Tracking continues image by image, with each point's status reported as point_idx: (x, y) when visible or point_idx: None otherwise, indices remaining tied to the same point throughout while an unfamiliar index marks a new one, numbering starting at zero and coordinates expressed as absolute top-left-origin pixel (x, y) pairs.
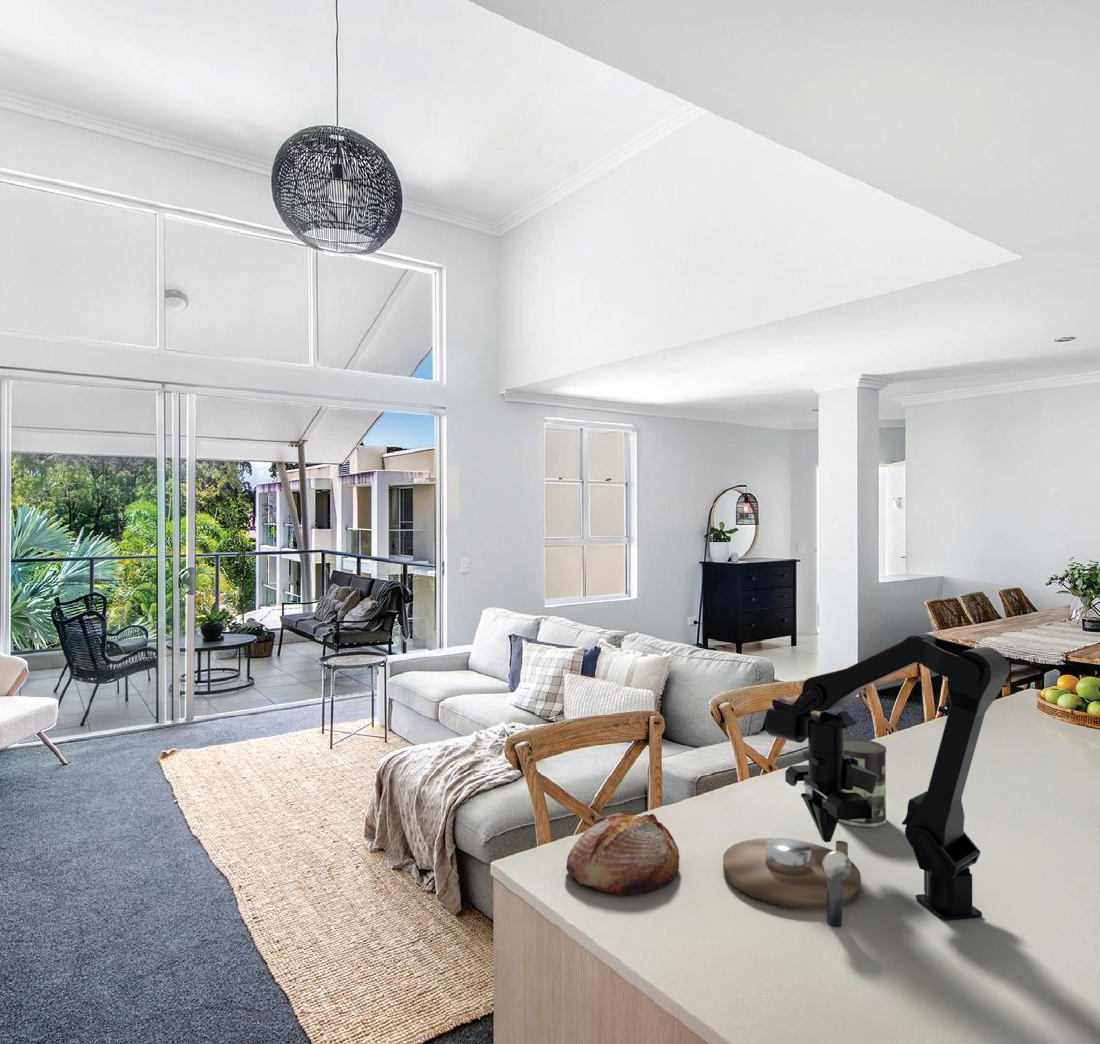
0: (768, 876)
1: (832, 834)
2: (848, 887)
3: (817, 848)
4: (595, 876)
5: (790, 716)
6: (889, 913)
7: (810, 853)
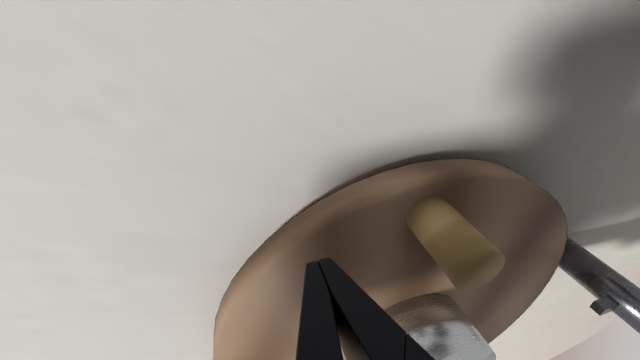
0: None
1: (357, 286)
2: (553, 230)
3: None
4: None
5: None
6: (604, 129)
7: (485, 346)
